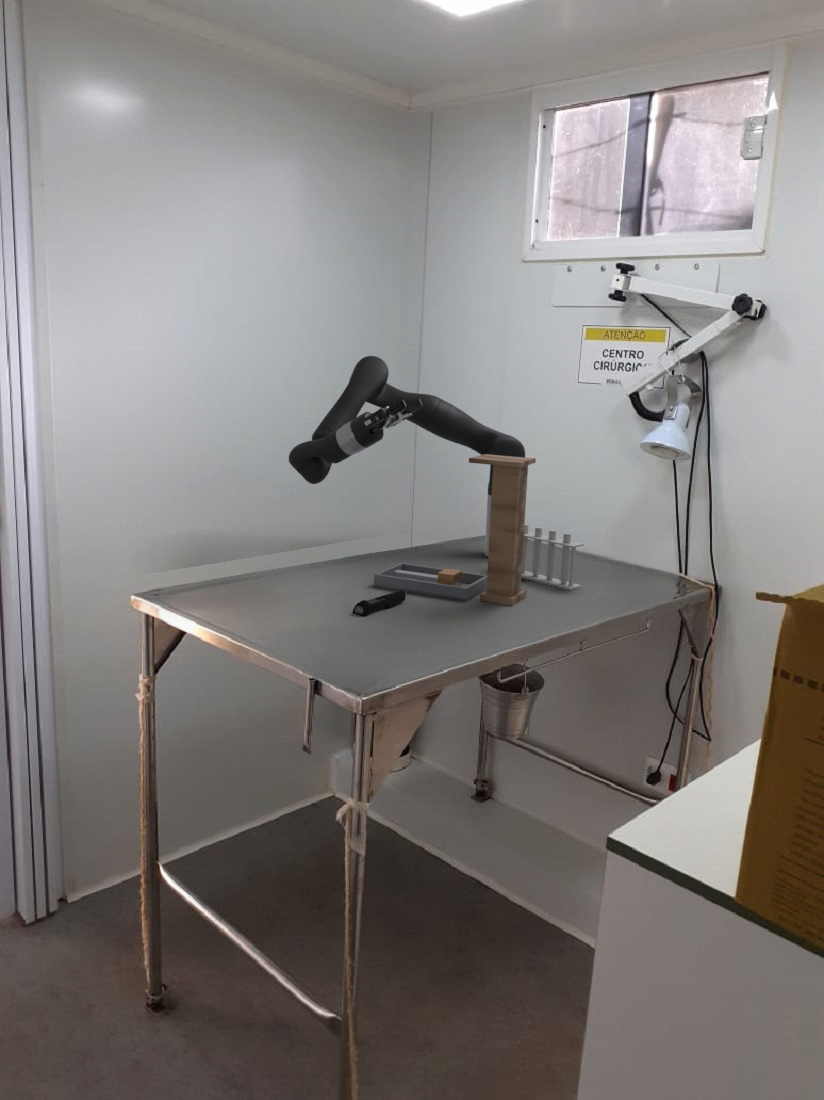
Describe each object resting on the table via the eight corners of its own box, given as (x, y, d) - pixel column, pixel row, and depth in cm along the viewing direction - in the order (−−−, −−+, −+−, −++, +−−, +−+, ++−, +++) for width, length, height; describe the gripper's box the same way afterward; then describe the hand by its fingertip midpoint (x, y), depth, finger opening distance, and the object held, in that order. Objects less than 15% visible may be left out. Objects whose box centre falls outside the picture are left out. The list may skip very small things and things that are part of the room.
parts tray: (401, 574, 216) (401, 562, 216) (488, 587, 206) (489, 575, 206) (374, 586, 204) (374, 574, 204) (466, 601, 194) (466, 588, 193)
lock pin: (400, 578, 210) (400, 562, 210) (461, 587, 204) (461, 570, 203) (390, 582, 206) (391, 566, 205) (453, 591, 200) (453, 575, 199)
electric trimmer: (410, 604, 192) (410, 590, 192) (364, 618, 180) (364, 603, 180) (396, 601, 195) (397, 587, 194) (350, 615, 183) (351, 600, 182)
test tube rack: (581, 588, 209) (585, 535, 206) (569, 591, 206) (573, 537, 203) (504, 568, 227) (507, 518, 224) (492, 570, 224) (495, 520, 221)
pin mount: (478, 588, 205) (485, 454, 198) (527, 596, 200) (535, 458, 193) (462, 598, 197) (468, 458, 190) (512, 606, 191) (520, 462, 184)
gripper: (380, 445, 213) (432, 416, 205) (351, 450, 201) (406, 419, 193) (367, 418, 213) (419, 387, 206) (337, 421, 201) (391, 388, 193)
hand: (413, 402), depth 199 cm, fingers open, 8 cm apart
